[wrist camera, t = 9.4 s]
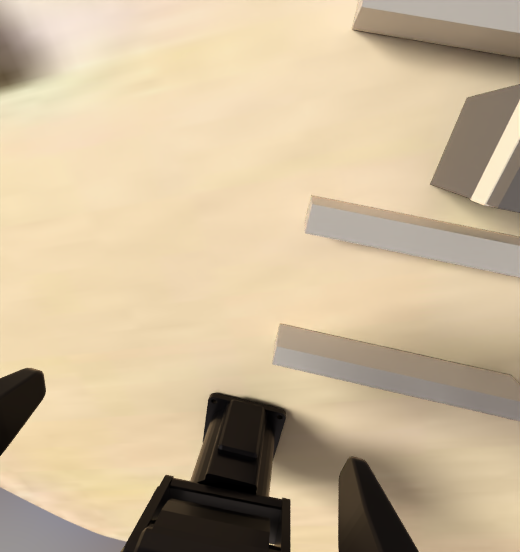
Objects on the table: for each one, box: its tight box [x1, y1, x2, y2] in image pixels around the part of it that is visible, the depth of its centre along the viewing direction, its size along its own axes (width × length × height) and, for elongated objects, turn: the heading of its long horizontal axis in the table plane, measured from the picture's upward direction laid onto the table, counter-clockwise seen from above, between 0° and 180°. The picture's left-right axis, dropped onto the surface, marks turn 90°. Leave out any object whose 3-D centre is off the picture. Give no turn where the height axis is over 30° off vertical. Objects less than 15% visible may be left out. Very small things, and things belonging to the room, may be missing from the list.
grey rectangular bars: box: [272, 0, 520, 421], centre depth 15 cm, size 20×18×3 cm
